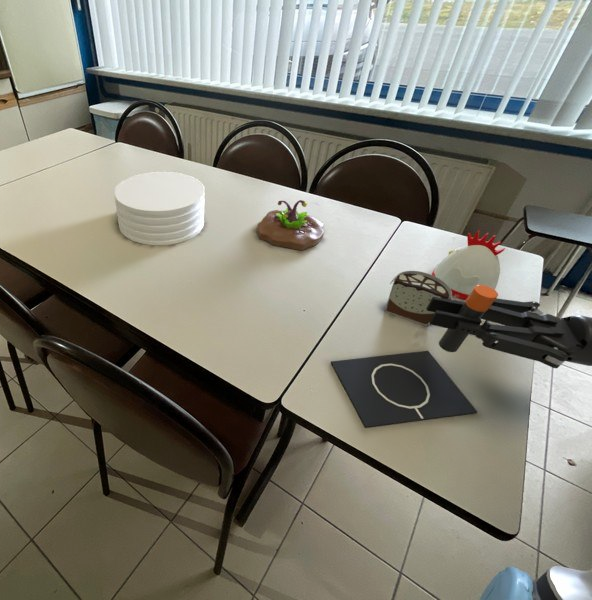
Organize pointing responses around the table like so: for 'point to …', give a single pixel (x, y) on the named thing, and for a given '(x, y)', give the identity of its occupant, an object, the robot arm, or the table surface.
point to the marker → (473, 308)
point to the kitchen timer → (470, 266)
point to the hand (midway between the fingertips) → (431, 310)
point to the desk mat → (400, 389)
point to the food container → (415, 295)
